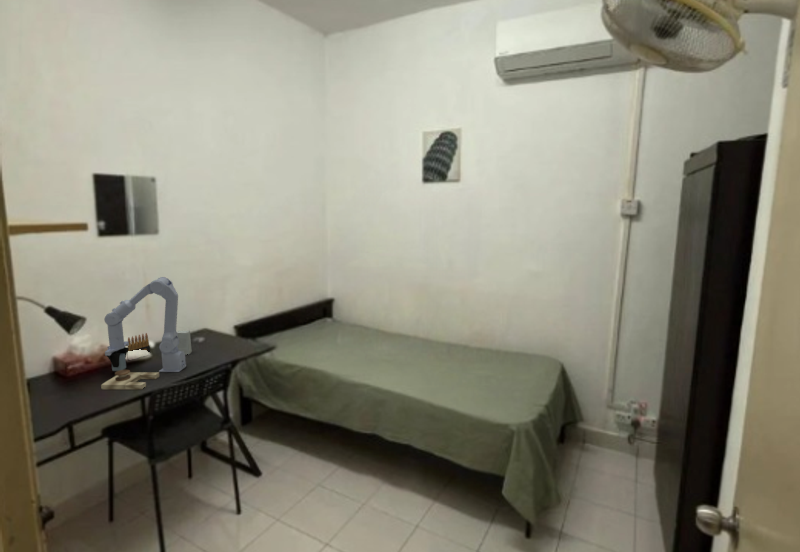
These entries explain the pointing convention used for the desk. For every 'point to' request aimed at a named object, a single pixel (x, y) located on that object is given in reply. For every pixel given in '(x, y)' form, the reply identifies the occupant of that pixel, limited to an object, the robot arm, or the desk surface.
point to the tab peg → (120, 363)
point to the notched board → (129, 380)
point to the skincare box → (184, 342)
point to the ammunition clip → (139, 343)
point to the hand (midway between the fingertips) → (118, 365)
